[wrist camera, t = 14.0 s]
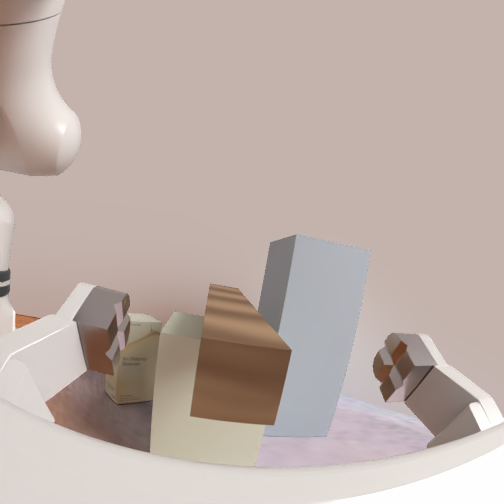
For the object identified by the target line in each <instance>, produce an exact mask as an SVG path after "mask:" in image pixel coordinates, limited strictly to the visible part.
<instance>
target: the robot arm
mask: <svg viewBox="0 0 504 504" xmlns="http://www.w3.org/2000/svg"><path fill="white" fill-rule="evenodd" d="M64 3H65V0H0V170H4V171H9V172H14V173H19V174H24V175H29V176H52V175H59V174H61V173H62V172H64V171H65V170H66V169H67V168H68V167H69V166H70V165H71V163H72V162H73V161H74V159H75V157H76V155H77V153H78V151H79V148H80V144H81V136H82V134H81V125H80V122H79V119H78V117H77V115H76V114H75V113H74V112H73V111H72V110H71V109H70V108H69V107H68V106H67V105H66V104H65V102H64V101H63V99H62V98H61V96H60V94H59V92H58V90H57V88H56V85H55V82H54V79H53V75H52V67H51V58H52V51H53V44H54V39H55V34H56V30H57V26H58V22H59V19H60V15H61V12H62V9H63V6H64ZM14 226H15V220H14V214H13V212H12V209H11V207H10V206H9V204H8V203H7V202H6V201H5V200H4V198H2V197H1V196H0V504H504V418H503V416H502V415H501V413H500V411H499V409H498V407H497V406H496V404H495V402H494V400H493V398H492V397H491V396H490V395H488V394H487V393H486V392H485V391H483V390H482V389H481V388H479V387H478V386H477V385H475V384H474V383H473V382H471V381H470V380H469V379H468V378H466V377H465V376H464V375H462V374H461V373H460V372H458V371H457V370H456V369H454V368H453V367H451V366H450V365H447V364H446V362H445V361H444V359H443V357H442V356H441V354H440V353H439V351H438V349H437V348H436V347H435V345H434V343H433V341H432V340H431V338H430V337H429V336H428V335H426V334H404V333H391V334H390V335H389V336H388V337H387V339H386V340H385V347H384V348H382V349H381V350H379V351H378V353H377V355H376V356H375V358H374V363H373V372H374V374H375V377H376V378H377V379H378V380H379V381H380V382H381V385H380V390H381V392H382V395H383V398H384V400H385V402H386V403H387V402H404V403H405V404H406V405H407V406H408V407H409V408H410V409H411V411H412V412H413V413H414V414H415V415H416V416H417V417H418V418H419V419H420V420H421V422H422V423H423V424H424V425H425V426H426V427H427V428H428V429H429V430H430V431H431V433H432V434H433V435H434V436H435V437H434V438H433V439H432V440H431V441H430V442H429V443H428V444H427V449H423V450H419V451H415V452H410V453H406V454H401V455H396V456H391V457H386V458H380V459H374V460H368V461H361V462H353V463H344V464H334V465H321V466H302V467H258V466H239V465H226V464H216V463H207V462H199V461H192V460H185V459H179V458H173V457H168V456H163V455H158V454H153V453H148V452H144V451H140V450H135V449H131V448H127V447H124V446H120V445H116V444H113V443H109V442H106V441H103V440H100V439H96V438H93V437H90V436H87V435H84V434H82V433H79V432H76V431H73V430H71V429H68V428H65V427H63V426H60V425H58V424H55V423H54V422H55V420H54V417H53V415H52V413H51V412H50V410H49V408H48V406H47V404H46V403H45V402H46V401H48V400H49V399H50V398H51V397H53V396H54V395H55V394H57V393H58V392H59V391H61V390H62V389H63V388H65V387H66V386H67V385H69V384H70V383H71V382H73V381H74V380H75V379H77V378H78V377H79V376H81V375H82V374H83V373H85V372H86V371H87V369H90V370H93V371H97V372H101V373H105V374H109V375H113V376H115V373H116V370H117V368H118V365H119V362H120V360H121V355H120V351H121V350H122V349H124V348H125V347H126V344H127V342H128V338H129V333H130V316H129V315H128V314H127V311H128V308H129V306H130V300H129V295H128V294H126V293H123V292H119V291H115V290H111V289H107V288H103V287H100V286H95V285H91V284H87V283H84V282H81V283H79V284H78V285H77V286H76V287H75V289H74V290H73V291H72V293H71V294H70V295H69V297H68V298H67V299H66V301H65V302H64V304H63V305H62V306H61V308H60V309H59V311H58V312H57V313H56V315H52V314H50V315H48V316H46V317H43V318H41V319H39V320H37V321H34V322H32V323H30V324H28V325H26V326H23V327H21V328H16V327H15V311H14V310H13V306H12V303H11V300H10V298H9V294H8V293H9V291H10V282H11V277H10V269H9V259H10V251H11V244H12V238H13V231H14Z"/></svg>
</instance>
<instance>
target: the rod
mask: <svg viewBox="0 0 504 504" xmlns="http://www.w3.org/2000/svg"><path fill="white" fill-rule="evenodd" d="M291 353H292V350H291V348H290V347H289V346H288V345H287V344H286V343H285V342H284V341H283V340H282V338H281V337H280V336H279V335H278V334H277V333H276V332H275V330H274V329H273V328H272V327H271V326H270V325H269V324H268V323H267V321H266V320H265V319H264V318H263V317H262V316H261V315H260V313H259V312H258V311H257V310H256V309H255V308H254V306H253V305H252V304H251V303H250V302H249V301H248V300H247V298H246V297H245V296H244V295H243V294H242V293H241V291H240V290H239V289H238V288H232V287H227V286H221V285H216V284H210V287H209V293H208V299H207V305H206V311H205V317H204V323H203V329H202V335H201V342H200V348H199V355H198V361H197V368H196V375H195V382H194V389H193V396H192V404H191V411H190V416H191V417H197V418H204V419H211V420H218V421H227V422H236V423H246V424H258V425H274V424H275V420H276V416H277V413H278V409H279V405H280V400H281V396H282V392H283V388H284V384H285V380H286V375H287V371H288V366H289V362H290V357H291Z"/></svg>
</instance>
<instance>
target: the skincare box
mask: <svg viewBox="0 0 504 504" xmlns="http://www.w3.org/2000/svg"><path fill="white" fill-rule="evenodd" d="M127 314H128V315H129V316H130V333H129V338H128V342H127V344H126V347H125V348H124V349H122V350H121V351H120V355H121V360H120V362H119V365H118V368H117V370H116V373H115V376H113V375H109V374H105V391H106V392H107V394H108V395H109V396H110V397H111V398H112V400H113V401H114V402H115V403H116V404H125V403H135V402H145V401H151V400H153V395H154V384H155V373H156V364H157V355H158V346H159V338H160V332H161V326H162V322H161V321H159V320H157V319H155V318H153V317H152V316H150V315H147V314H133V313H127Z"/></svg>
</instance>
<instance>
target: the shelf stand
mask: <svg viewBox="0 0 504 504" xmlns="http://www.w3.org/2000/svg"><path fill="white" fill-rule="evenodd" d="M369 258H370V250H366V249H362V248H357V247H353V246H348V245H344V244H339V243H335V242H330V241H325V240H321V239H316V238H311V237H307V236H301V235H293V236H290V237H287V238H283V239H280V240H277V241H274V242H271V243H270V247H269V253H268V259H267V264H266V269H265V275H264V280H263V286H262V292H261V297H260V302H259V308H258V312H259V313H260V315H261V316H262V317H263V318H264V319H265V320H266V321H267V323H268V324H269V325H270V326H271V327H272V328H273V329H274V330H275V332H276V333H277V334H278V335H279V336H280V337H281V338H282V340H283V341H284V342H285V343H286V344H287V345H288V346H289V347H290V348H291V350H292V353H291V357H290V362H289V366H288V371H287V375H286V380H285V384H284V388H283V392H282V396H281V400H280V405H279V409H278V413H277V416H276V420H275V424H274V425H265V429H264V433H263V436H278V437H326V436H327V434H328V431H329V428H330V425H331V422H332V419H333V415H334V412H335V409H336V406H337V402H338V399H339V396H340V392H341V389H342V385H343V381H344V378H345V374H346V371H347V367H348V363H349V358H350V355H351V351H352V347H353V342H354V338H355V333H356V329H357V324H358V320H359V315H360V310H361V305H362V299H363V294H364V288H365V283H366V277H367V271H368V264H369Z"/></svg>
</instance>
